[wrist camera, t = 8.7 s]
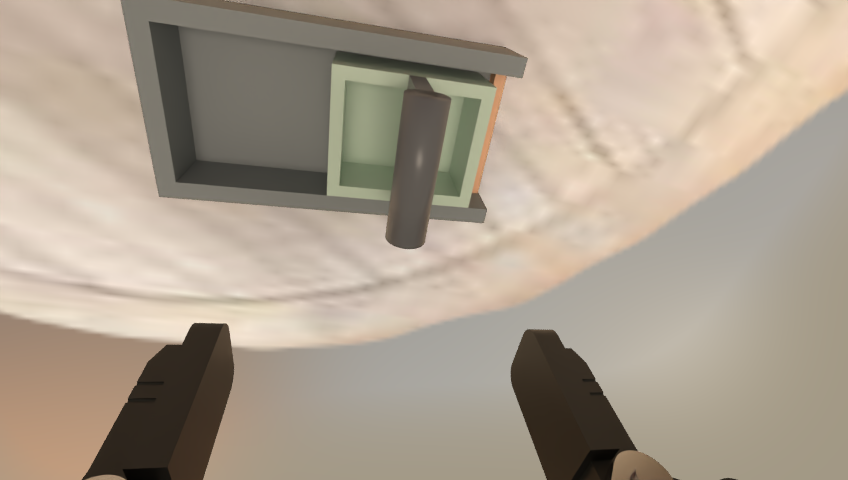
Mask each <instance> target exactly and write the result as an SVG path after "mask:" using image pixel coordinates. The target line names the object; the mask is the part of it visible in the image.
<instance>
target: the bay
mask: <svg viewBox="0 0 848 480" xmlns="http://www.w3.org/2000/svg"><path fill="white" fill-rule="evenodd" d="M121 4H122V10H123V15H124V20H125V25H126V30H127V35H128V40H129V45H130V51H131V56H132V61H133V66H134V71H135V76H136V81H137V86H138V91H139V97H140V102H141V107H142V112H143V117H144V122H145V127H146V132H147V138H148V143H149V148H150V153H151V158H152V163H153V168H154V173H155V178H156V184H157V189H158V194H159V197H167V198H179V199H192V200H204V201H216V202H229V203H241V204H253V205H266V206H278V207H290V208H303V209H315V210H327V211H340V212H352V213H364V214H376V215H388V212H389V204H390V201H384V200H372V199H361V198H350V197H338V196H327V175H328V149H329V123H330V97H331V71H332V62H333V59H334V57H335V55H336V52H337V51H340V52H346V53H353V54H360V55H366V56H373V57H379V58H386V59H392V60H399V61H406V62H412V63H419V64H425V65H432V66H438V67H445V68H452V69H458V70H465V71H471V72H478V73H479V74H481V75H482V76H483V77H484V78H486V79H487V80H488V81H489V82H490V83H492V84H493V85H494V86H495V87H497V90H496V94H495V98H494V102H493V107H492V111H491V115H490V119H489V123H488V127H487V132H486V136H485V140H484V144H483V148H482V152H481V157H480V161H479V165H478V169H477V173H476V177H475V182H474V186H473V190H472V194H471V198H470V202H469V207H468V208H464V207H452V206H441V205H432V206H431V211H430V217H429V219H438V220H450V221H463V222H475V223H484V220H485V216H486V212H487V208H486V207H485V205H484V203H483V201H482V199H481V197H480V195H479V193H478V189H479V185H480V181H481V177H482V173H483V169H484V165H485V161H486V157H487V153H488V149H489V145H490V141H491V137H492V133H493V129H494V125H495V121H496V117H497V113H498V109H499V105H500V101H501V97H502V93H503V89H504V85H505V81H506V77H507V76H511V77H518V78H523V74H524V70H525V66H526V63H527V59H528V58H526V57H524V56H522V55H520V54H518V53H516V52H514V51H512V50H510V49H507V48H505V47H500V46H494V45H488V44H482V43H476V42H470V41H464V40H458V39H452V38H446V37H440V36H434V35H428V34H422V33H416V32H410V31H404V30H398V29H392V28H386V27H380V26H374V25H368V24H362V23H356V22H350V21H343V20H337V19H331V18H325V17H319V16H313V15H307V14H301V13H295V12H289V11H283V10H277V9H271V8H265V7H259V6H253V5H247V4H241V3H235V2H229V1H223V0H121Z"/></svg>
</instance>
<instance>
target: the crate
mask: <svg viewBox="0 0 848 480" xmlns="http://www.w3.org/2000/svg"><path fill="white" fill-rule="evenodd" d="M496 90H497V87H495V86H494V85H493V84H492V83H490V82H489V81H488V80H487V79H486V78H484V77H483V76H482V75H481V74H479V73H478V72H471V71H465V70H458V69H452V68H445V67H438V66H432V65H425V64H419V63H412V62H406V61H399V60H392V59H386V58H379V57H373V56H366V55H360V54H353V53H346V52H340V51H337V52H336V55H335V57H334V59H333V62H332V71H331V97H330V123H329V149H328V175H327V196H338V197H350V198H361V199H372V200H384V201H390V204H389V212H388V220H387V227H386V235H385V237H386V240H387V241H388V242H389V243H390V244H392V245H394V246H396V247H399V248H403V249H415V248H419V247H421V246H422V245H423V244H424V243H425V238H426V233H427V227H428V222H429V217H430V211H431V206H432V205H441V206H452V207H464V208H468V207H469V202H470V198H471V194H472V190H473V186H474V182H475V177H476V173H477V169H478V165H479V161H480V157H481V152H482V148H483V144H484V140H485V136H486V132H487V127H488V123H489V119H490V115H491V111H492V107H493V102H494V98H495V94H496Z"/></svg>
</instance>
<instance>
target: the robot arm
mask: <svg viewBox="0 0 848 480" xmlns="http://www.w3.org/2000/svg"><path fill="white" fill-rule="evenodd" d="M233 375H234V363H233V355H232V347H231V340H230V333H229V327H228V325H227V324H216V323H194V324H193V325H192V326H191V327H190V329H189V331H188V333H187V336H186V338H185V340H184V342H183V344H182V345H166V346H165V347H164V348H163V349H162V350H161V351H159V352H158V353H157V354H156V355H155V356H154V357H153V358H152V359H151V360H149V361H148V363H147V365H146V367H145V368H144V370H143V372H142V374H141V376H140V377H139V379H138V381H137V385H136V386H135V387H134V388H133V390H132V392H131V394H130V396H129V398H128V402H127V403H125V405H124V407H123V408H122V410H121V412H120V414H119V416H118V418H117V420H116V421H115V423H114V425H113V427H112V429H111V431H110V432H109V434H108V436H107V438H106V440H105V441H104V443H103V445H102V447H101V449H100V451H99V452H98V454H97V456H96V458H95V460H94V461H93V463H92V465H91V467H90V469H89V470H88V472H87V473H86V475H85V476H84V477H83V479H82V480H203V478H204V474H205V471H206V468H207V465H208V462H209V458H210V455H211V452H212V449H213V445H214V442H215V439H216V436H217V433H218V429H219V426H220V423H221V420H222V416H223V413H224V410H225V407H226V404H227V400H228V397H229V394H230V390H231V387H232V382H233ZM511 382H512V386H513V389H514V392H515V395H516V397H517V400H518V402H519V405H520V408H521V411H522V413H523V416H524V419H525V422H526V424H527V427H528V430H529V432H530V435H531V438H532V440H533V443H534V446H535V449H536V451H537V454H538V457H539V459H540V462H541V465H542V468H543V470H544V473H545V476H546V478H547V480H678V479H675V478H672V477H671V475H670V474H669V473H668V471H667V470H666V469H665V468H664V467H663V466H662V465H661V464H659V462H657V461H656V460H655V459H653V458H652V457H650V456H648V455H646V454H644V453H641V452H638V451H637V449H636V447H635V446H634V444H633V442H632V441H631V439H630V437H629V436H628V434H627V432H626V431H625V429H624V427H623V425H622V424H621V422H620V420H619V419H618V417H617V415H616V413H615V412H614V410H613V408H612V407H611V405H610V403H609V401H608V400H607V398H606V396H604V395H603V391H602V389H601V388H600V386H599V384H598V383H597V382H596V381H595V377H594V375H593V374H592V372H591V370H590V369H589V367H588V365H587V363H586V362H585V361H584V360H583V359H582V358H581V357H580V356H578V354H576V353H575V352H574V351H573V350H572V349H570V348H569V349H568V348H564V346H563V344H562V342H561V340H560V338H559V336H558V335H557V333H556V332H555V331H554V330H533V329H529V330H526V331H525V332H524V334H523V337H522V339H521V342H520V345H519V347H518V350H517V352H516V355H515V358H514V360H513V363H512V366H511ZM721 480H736V479H731V478H725V479H721Z"/></svg>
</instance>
